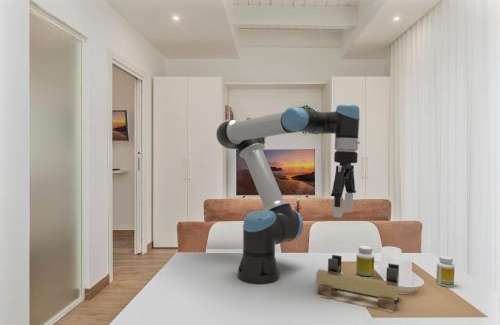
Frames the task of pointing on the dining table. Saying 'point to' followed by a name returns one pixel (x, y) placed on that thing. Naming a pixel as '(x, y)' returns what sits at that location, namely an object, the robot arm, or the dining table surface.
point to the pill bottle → (365, 262)
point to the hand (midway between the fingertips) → (343, 214)
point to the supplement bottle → (445, 272)
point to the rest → (356, 299)
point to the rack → (391, 276)
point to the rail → (357, 284)
